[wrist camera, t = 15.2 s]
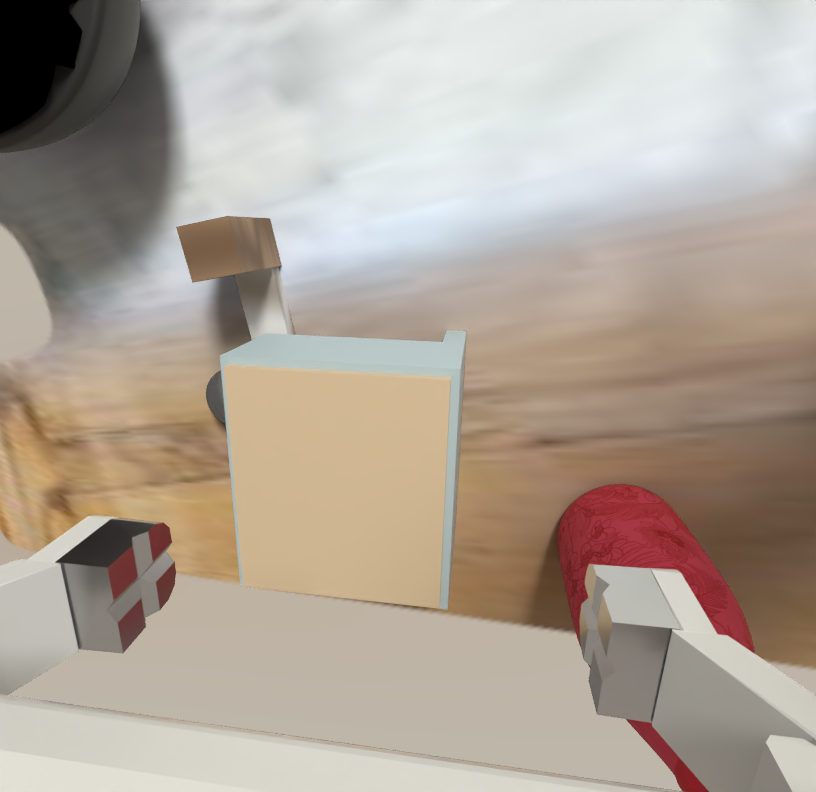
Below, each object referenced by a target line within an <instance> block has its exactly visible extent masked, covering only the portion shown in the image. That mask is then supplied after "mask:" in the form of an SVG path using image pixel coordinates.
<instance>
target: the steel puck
mask: <svg viewBox="0 0 816 792" xmlns="http://www.w3.org/2000/svg"><path fill="white" fill-rule="evenodd" d="M206 398H207V403H208V406H209V408H210V410H211V412H212V413H213V414H214V416H215V417H216V418H217V419H218V420H220V421H221V422H222V423H224V424H226V420H225V409H224V398H223V387H222V376H221V371H219V372H217V373H216V374H215V375H214V376H213V377H212V378H211V379H210V381H209V383H208V385H207V389H206Z"/></svg>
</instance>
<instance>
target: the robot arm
mask: <svg viewBox="0 0 816 792" xmlns="http://www.w3.org/2000/svg"><path fill="white" fill-rule="evenodd" d="M171 543H172V540H171V534H170V529H169V527H168V526H167V525H166V524H164V523H162V522H153V521H145V520H136V519H128V518H116V517H111V516H99V515H95V516H88V517H86V518H85V519H84V520H82V521H81V522H79V523H78V524H77V525H75V526H74V527H72V528H71V529H70V530H68V531H67V532H65V533H64V534H63V535H61V536H60V537H58V538H57V539H56V540H54V541H53V542H51V543H50V544H49V545H47V546H46V547H44V548H43V549H42V550H40V551H39V552H37V553H36V554H35V555H33V556H32V557H31V558H29V559H28V560H22V559H19V560H16V561H13V562H10V563H7V564H4V565H1V566H0V792H683V791H676V790H668V789H662V788H654V787H648V786H641V785H633V784H626V783H619V782H611V781H604V780H597V779H589V778H583V777H576V776H569V775H562V774H555V773H548V772H540V771H534V770H527V769H520V768H513V767H506V766H500V765H492V764H486V763H479V762H471V761H464V760H458V759H451V758H444V757H437V756H430V755H423V754H417V753H409V752H402V751H396V750H389V749H382V748H375V747H368V746H361V745H354V744H347V743H340V742H333V741H326V740H319V739H312V738H304V737H298V736H290V735H284V734H277V733H269V732H262V731H255V730H248V729H241V728H234V727H227V726H219V725H213V724H206V723H199V722H191V721H184V720H178V719H170V718H163V717H156V716H149V715H142V714H135V713H128V712H122V711H115V710H108V709H101V708H94V707H87V706H80V705H73V704H65V703H59V702H52V701H45V700H38V699H31V698H24V697H17V696H10V695H8V694H10V693H12V692H13V691H15V690H17V689H18V688H20V687H22V686H23V685H25V684H26V683H28V682H30V681H31V680H33V679H35V678H36V677H38V676H40V675H41V674H43V673H44V672H46V671H48V670H49V669H51V668H52V667H54V666H56V665H57V664H59V663H61V662H62V661H64V660H66V659H67V658H69V657H71V656H72V655H74V654H76V653H77V652H78V651H79V649H83V650H94V651H104V652H114V653H124V652H125V650H126V649H127V648H128V647H129V646H130V645H131V643H132V642H133V641H134V640H135V639H136V638H137V636H138V635H139V634H140V633H141V632H142V631H143V629H144V628H145V627H146V623H145V617H147V616H149V615H151V614H153V613H155V612H157V611H159V610H160V609H161V608H162V607H163V605H164V604H165V603H166V602H167V601H168V599H169V597H170V595H171V592H172V590H173V587H174V584H175V576H176V569H175V562H174V560H173V559H172V558H171V557H170V555H169V554H168V553H167V552H166V550H167V549H168V547H169V546H170V544H171ZM585 587H586V590H587V594H588V597H589V598H588V599H587V600H585V601H584V602H583V603H582V604H581V613H580V643H581V649H582V654H583V658H584V660H585V661H586V662H587V663H588V664H589V665H590V666H591V669H590V676H589V683H590V687H591V691H592V696H593V700H594V704H595V708H596V712H597V714H598V715H604V716H611V717H617V718H624V719H630V720H636V721H643V722H649V723H652V726H653V728H654V729H655V730H656V731H657V732H658V733H659V735H660V736H661V737H662V738H663V739H664V740H665V741H666V743H667V744H668V745H669V746H670V747H671V748H672V749H673V751H674V752H675V753H676V754H677V755H678V756H679V758H680V759H681V760H682V761H683V762H684V763H685V764H686V766H687V767H688V768H689V769H690V770H691V771H692V773H693V774H694V775H695V776H696V777H697V778H698V779H699V781H700V782H701V783H702V784H703V785H704V786H705V788H706V789H707V790H708V791H709V792H816V695H815V694H813V693H812V692H810V691H809V690H807V689H806V688H804V687H803V686H802V685H800V684H798V683H797V682H795V681H794V680H793V679H791V678H790V677H788V676H787V675H785V674H784V673H782V672H781V671H779V670H778V669H776V668H775V667H773V666H772V665H770V664H769V663H768V662H766V661H765V660H763V659H762V658H760V657H759V656H757V655H756V654H754V653H753V652H751V651H750V650H748V649H747V648H745V647H744V646H742V645H741V644H739V643H738V642H736V641H735V640H733V639H732V638H731V637H729V636H728V635H719V634H717V632H716V630H715V629H714V627H713V625H712V624H711V622H710V620H709V619H708V617H707V615H706V614H705V612H704V610H703V609H702V607H701V605H700V604H699V602H698V600H697V599H696V597H695V595H694V594H693V592H692V590H691V589H690V587H689V585H688V584H687V582H686V580H685V579H684V577H683V575H682V573H681V572H679V571H678V570H674V569H658V568H637V567H624V566H610V565H597V564H589V565H588V568H587V571H586V577H585Z"/></svg>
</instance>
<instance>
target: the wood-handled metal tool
mask: <svg viewBox="0 0 816 792" xmlns="http://www.w3.org/2000/svg"><path fill="white" fill-rule="evenodd" d="M176 228H177V231H178V234H179V238H180V241H181V245H182V248H183V251H184V255H185V258H186V262H187V265H188V268H189V272H190V275H191V279H192V282H198V281H204V280H209V279H215V278H221V277H226V276H232V275H234V277H235V280H236V284H237V288H238V291H239V295H240V299H241V302H242V306H243V310H244V313H245V317H246V321H247V324H248V328H249V332H250V335H251V339H252V340H254V339H256V338H258V337H260V336H262V335H264V334H266V333H269V334H290V335H295V331H294V327H293V323H292V319H291V315H290V311H289V307H288V303H287V299H286V295H285V290H284V286H283V282H282V278H281V274H280V270H279V266H281V262H280V257H279V253H278V249H277V245H276V241H275V237H274V233H273V229H272V225H271V221H270V219H269V218H251V217H233V216H225V217H220V218H216V219H211V220H207V221H202V222H198V223H193V224H188V225H184V226H179V227H176Z"/></svg>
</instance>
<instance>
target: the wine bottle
mask: <svg viewBox="0 0 816 792" xmlns="http://www.w3.org/2000/svg"><path fill="white" fill-rule="evenodd" d="M558 549H559V556H560V562H561V568H562V573H563V578H564V583H565V588H566V593H567V598H568V602H569V607H570V611H571V615H572V619H573V623H574V627H575V631H576V634H577V638H578V641H579V644H580V646H581V643H580V613H581V604H582V603H583V602H584V601H585V600H587V599H588V598H589V597H588V594H587V590H586V587H585V577H586V571H587V568H588V565H589V564H597V565H610V566H624V567H637V568H658V569H674V570H678V571H679V572H681V573H682V575H683V577H684V579H685V580H686V582H687V584H688V585H689V587H690V589H691V590H692V592H693V594H694V595H695V597H696V599H697V600H698V602H699V604H700V605H701V607H702V609H703V610H704V612H705V614H706V615H707V617H708V619H709V620H710V622H711V624H712V625H713V627H714V629H715V630H716V632H717V634H719V635H728V636H729V637H731V638H732V639H733V640H735V641H736V642H738V643H739V644H741V645H742V646H744V647H745V648H747V649H748V650H750V651H751V652H753V653H754V654H755V651H754V646H753V642H752V638H751V635H750V632H749V628H748V625H747V622H746V620H745V617H744V615H743V612H742V610H741V608H740V606H739V604H738V602H737V600H736V598H735V596H734V595H733V593H732V591H731V590H730V588H729V586H728V585H727V583H726V582H725V580H724V579H723V577H722V576H721V574H720V573H719V571H718V570H717V568H716V567H715V566H714V564H713V563H712V561H711V560H710V558H709V557H708V556H707V554H706V553H705V551H704V550H703V549H702V547H701V546H700V545H699V543H698V542H697V540H696V539H695V538H694V536H693V535H692V534H691V532H690V531H689V530H688V528H687V527H686V526H685V524H684V523H683V522H682V520H681V519H680V518H679V517H678V515H677V514H676V513H675V512H674V511H673V509H672V508H671V507H670V506H669V505H668V504H667V503H666V502H665V501H664V500H663V499H661V498H660V497H658V496H657V495H655V494H654V493H652V492H650V491H648V490H646V489H643V488H640V487H637V486H632V485H621V484H617V485H608V486H603V487H599V488H596V489H593V490H591V491H589V492H587V493H585V494H583V495H582V496H580V497H579V498H578V499H577V500H575V501H574V502H573V503H572V504H571V505H570V506H569V508H568V509H567V510H566V512H565V514H564V515H563V517H562V520H561V522H560V525H559V530H558ZM588 665H589V664H588ZM589 667H590V669H591V666H590V665H589ZM626 720H627V721H628V722H629V723H630V724H631V726H632V727H633V728H634V729H635V730H636V731H637V732H638V733H639V734H640V736H641V737H642V738H643V739H644V740H645V741H646V742H647V743H648V744H649V745H650V747H651V748H652V749H653V750H654V751H655V752H656V753H657V755H658V756H659V757H660V758H661V759H662V760H663V761H664V763H665V764H666V765H667V766H668V767H669V769H670V770H671V771H672V772H673V774H674V775H675V777H676V780H677V782H678V785H679V786H680V788H681V789H682V791H683V792H709V791H708V790H707V789H706V788H705V786H704V785H703V784H702V783H701V782H700V781H699V779H698V778H697V777H696V776H695V775H694V774H693V773H692V771H691V770H690V769H689V768H688V767H687V766H686V764H685V763H684V762H683V761H682V760H681V759H680V758H679V756H678V755H677V754H676V753H675V752H674V751H673V749H672V748H671V747H670V746H669V745H668V744H667V743H666V741H665V740H664V739H663V738H662V737H661V736H660V735H659V733H658V732H657V731H656V730H655V729H654V728H653V726H652V723H649V722H643V721H636V720H630V719H626Z"/></svg>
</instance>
